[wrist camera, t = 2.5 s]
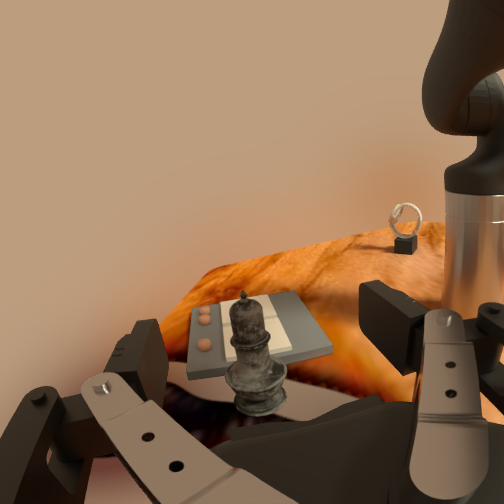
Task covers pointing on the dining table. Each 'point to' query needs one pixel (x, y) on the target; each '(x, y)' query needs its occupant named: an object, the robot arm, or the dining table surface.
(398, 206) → the watch
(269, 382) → the salt shaker
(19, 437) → the robot arm
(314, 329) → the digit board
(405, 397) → the dining table surface
